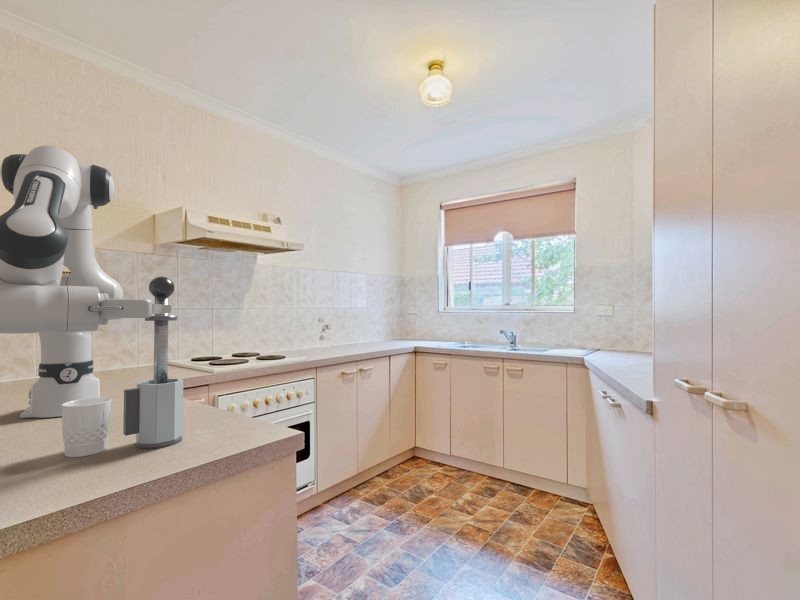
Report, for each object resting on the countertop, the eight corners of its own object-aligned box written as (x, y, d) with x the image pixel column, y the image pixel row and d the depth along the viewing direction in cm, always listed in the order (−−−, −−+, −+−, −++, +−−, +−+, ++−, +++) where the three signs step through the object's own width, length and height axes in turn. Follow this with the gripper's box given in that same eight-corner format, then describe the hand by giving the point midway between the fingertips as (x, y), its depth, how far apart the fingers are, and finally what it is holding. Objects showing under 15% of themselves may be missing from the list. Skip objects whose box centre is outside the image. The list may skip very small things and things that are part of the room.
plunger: (140, 395, 85) (142, 276, 86) (172, 391, 89) (173, 278, 90) (147, 399, 80) (149, 274, 81) (179, 395, 85) (181, 276, 86)
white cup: (119, 444, 83) (120, 397, 83) (91, 458, 75) (92, 406, 75) (81, 445, 83) (82, 397, 83) (49, 459, 75) (50, 406, 75)
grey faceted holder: (120, 444, 83) (121, 383, 83) (175, 433, 90) (176, 377, 91) (128, 454, 77) (129, 388, 77) (187, 442, 84) (187, 381, 85)
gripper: (93, 290, 69) (180, 292, 79) (80, 294, 84) (154, 296, 93) (92, 326, 69) (180, 324, 78) (79, 324, 83) (154, 322, 93)
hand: (166, 309), depth 86 cm, fingers open, 5 cm apart
